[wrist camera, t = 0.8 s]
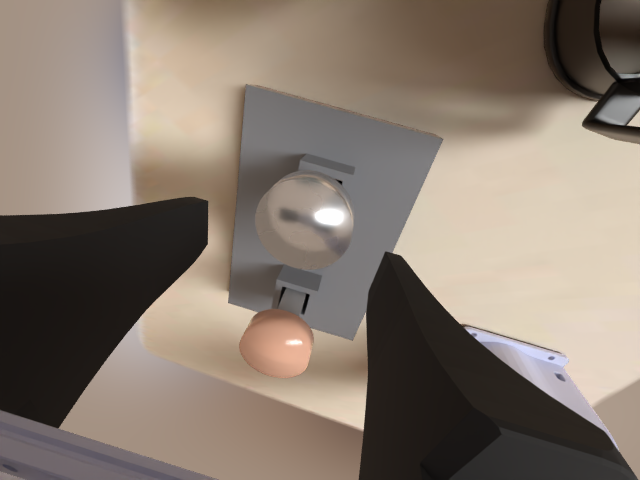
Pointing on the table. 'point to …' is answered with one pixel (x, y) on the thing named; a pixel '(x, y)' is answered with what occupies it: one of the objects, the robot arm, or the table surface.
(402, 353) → the robot arm
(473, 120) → the table surface
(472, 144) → the table surface
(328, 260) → the steel plunger
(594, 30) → the french press
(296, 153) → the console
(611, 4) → the table surface
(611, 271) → the table surface
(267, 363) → the peach knob
